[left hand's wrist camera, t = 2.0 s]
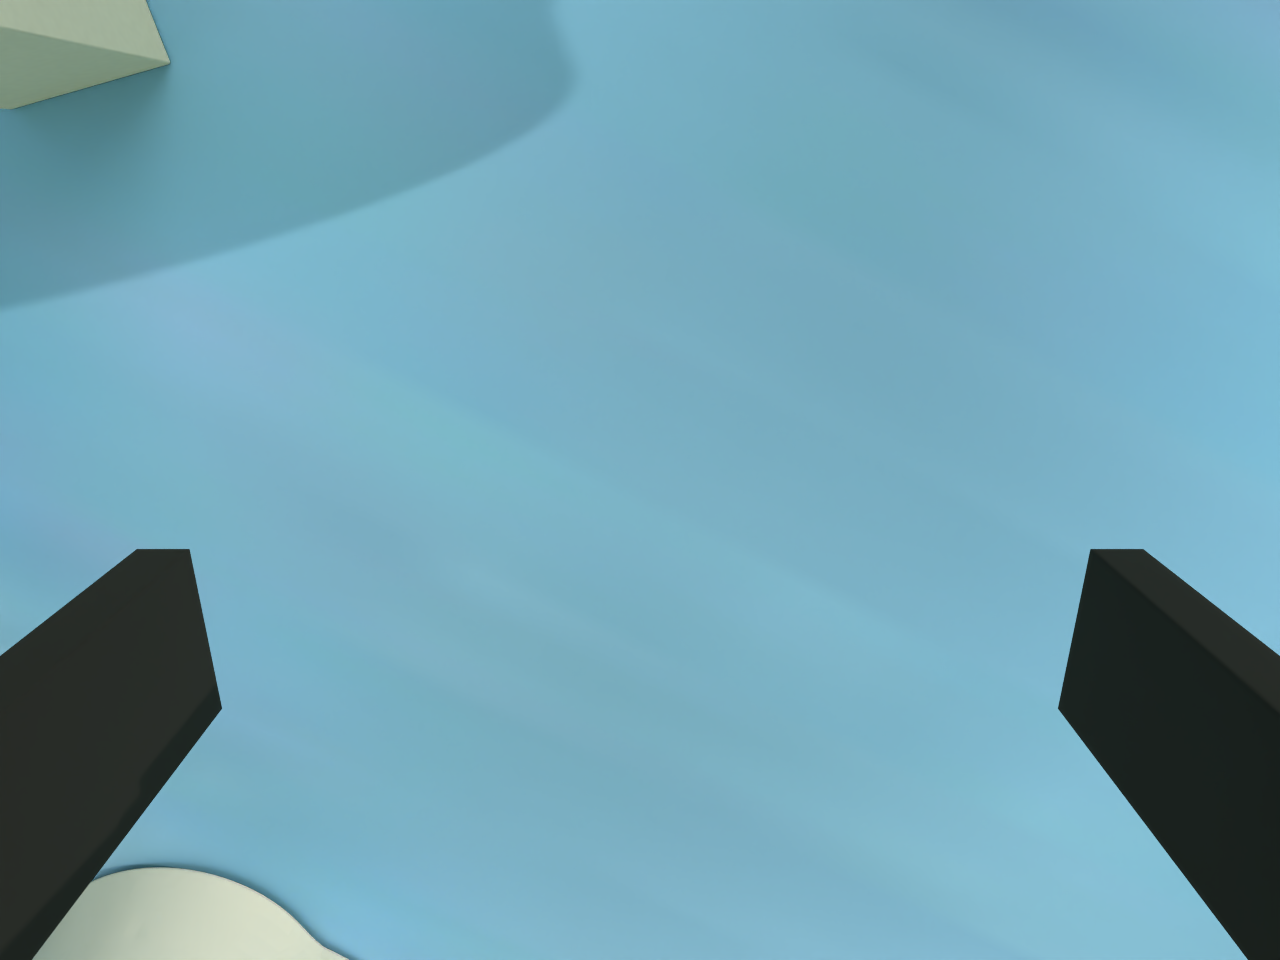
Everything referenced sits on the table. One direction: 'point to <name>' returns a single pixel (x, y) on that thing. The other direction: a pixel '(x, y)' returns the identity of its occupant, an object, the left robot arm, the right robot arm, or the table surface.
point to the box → (72, 46)
